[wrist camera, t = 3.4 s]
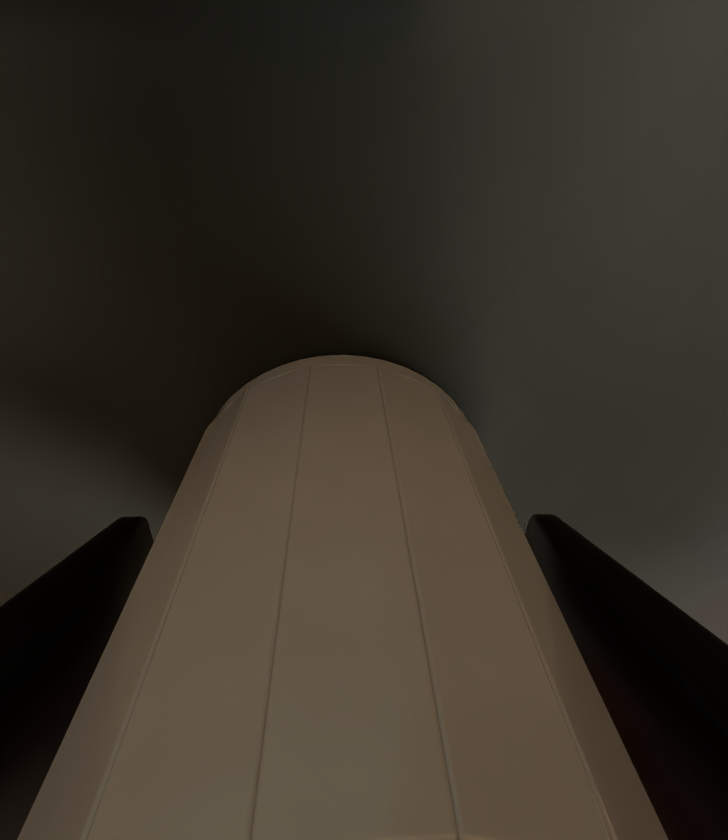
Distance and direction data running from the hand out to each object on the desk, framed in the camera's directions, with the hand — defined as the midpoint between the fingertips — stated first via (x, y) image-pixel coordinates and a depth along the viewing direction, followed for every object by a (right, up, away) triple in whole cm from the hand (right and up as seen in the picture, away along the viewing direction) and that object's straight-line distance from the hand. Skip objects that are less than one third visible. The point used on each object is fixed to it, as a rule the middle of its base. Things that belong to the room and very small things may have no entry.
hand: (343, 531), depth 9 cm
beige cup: (0, +1, +1) cm, 2 cm away
